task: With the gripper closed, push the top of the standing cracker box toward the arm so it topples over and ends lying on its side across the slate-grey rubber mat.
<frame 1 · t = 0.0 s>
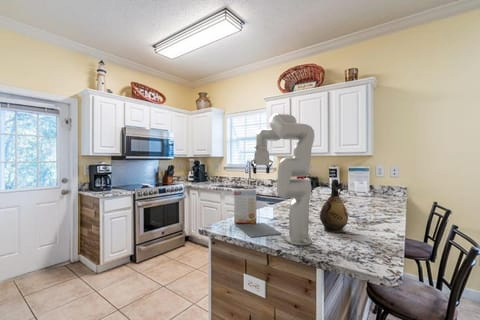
hand: (261, 173, 162), 31 cm above the worktop, tool pointing down, fingers open, 9 cm apart
cracker box: (245, 223, 151), on the worktop
ceramic jug: (333, 230, 140), on the worktop
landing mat: (258, 229, 137), on the worktop
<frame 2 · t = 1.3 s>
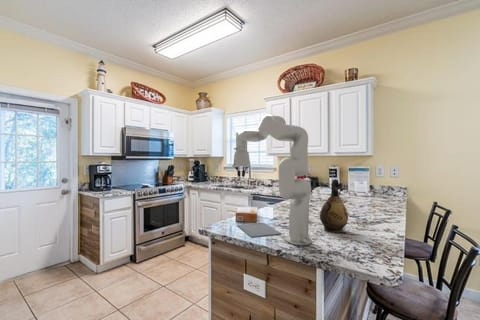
hand: (241, 176, 159), 29 cm above the worktop, tool pointing down, fingers closed
cracker box: (245, 217, 153), point 3 cm above the worktop
everything else where it was.
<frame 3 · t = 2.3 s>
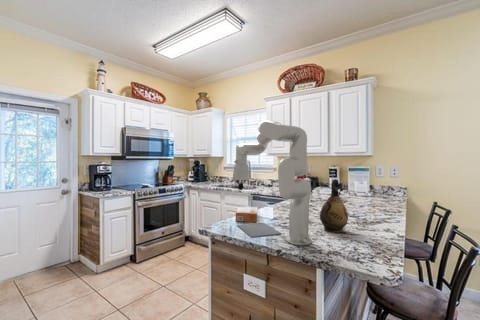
hand: (240, 189, 159), 20 cm above the worktop, tool pointing down, fingers closed
nothing on the worktop moved.
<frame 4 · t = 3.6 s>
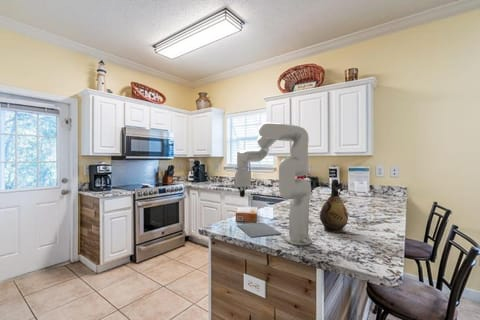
hand: (242, 196, 157), 16 cm above the worktop, tool pointing down, fingers closed
nothing on the worktop moved.
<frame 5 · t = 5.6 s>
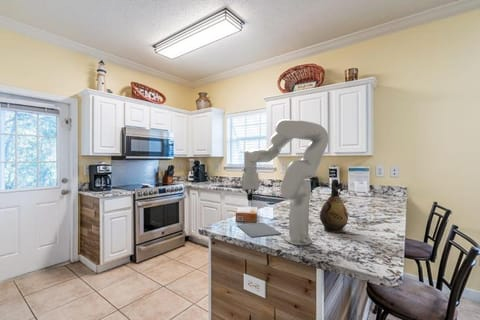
hand: (249, 200, 144), 16 cm above the worktop, tool pointing down, fingers closed
nothing on the worktop moved.
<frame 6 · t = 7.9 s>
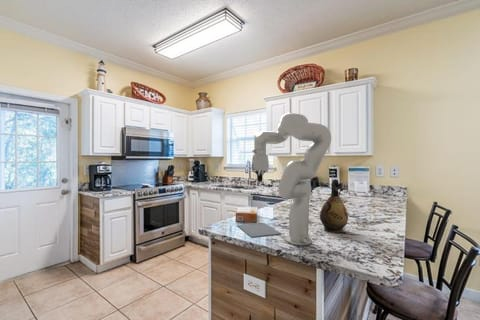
hand: (259, 181, 148), 27 cm above the worktop, tool pointing down, fingers closed
nothing on the worktop moved.
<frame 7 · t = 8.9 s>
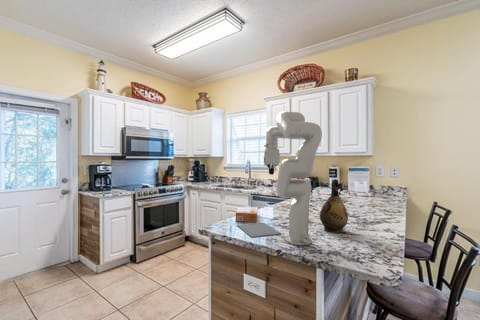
hand: (271, 174, 157), 31 cm above the worktop, tool pointing down, fingers closed
nothing on the worktop moved.
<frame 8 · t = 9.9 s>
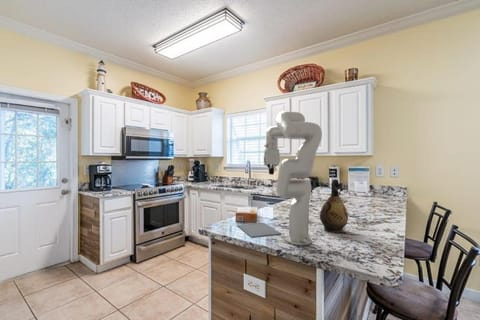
hand: (271, 174, 157), 31 cm above the worktop, tool pointing down, fingers closed
nothing on the worktop moved.
at the end: cracker box tilted 89°; cracker box inside the target area (5.3 cm from its centre), point 2.8 cm above the worktop; cracker box moved 3.8 cm from its start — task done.
